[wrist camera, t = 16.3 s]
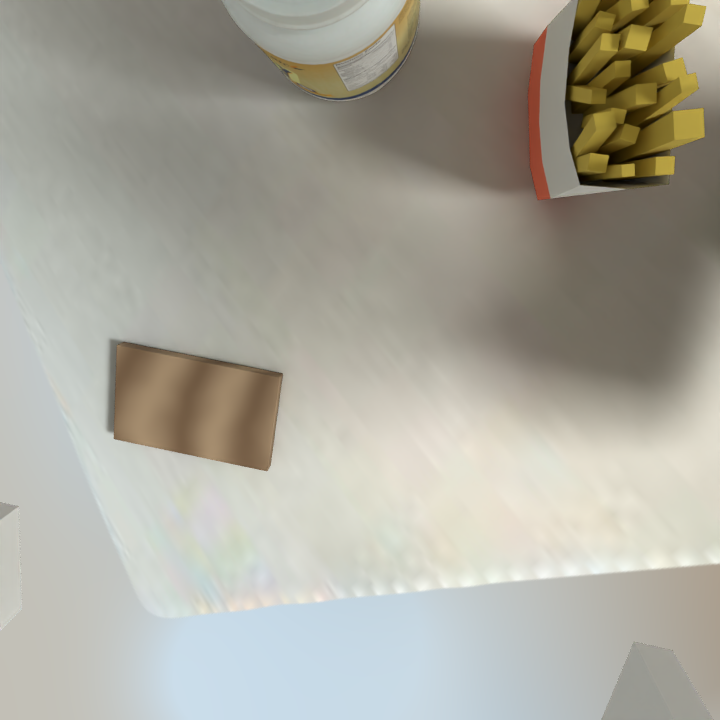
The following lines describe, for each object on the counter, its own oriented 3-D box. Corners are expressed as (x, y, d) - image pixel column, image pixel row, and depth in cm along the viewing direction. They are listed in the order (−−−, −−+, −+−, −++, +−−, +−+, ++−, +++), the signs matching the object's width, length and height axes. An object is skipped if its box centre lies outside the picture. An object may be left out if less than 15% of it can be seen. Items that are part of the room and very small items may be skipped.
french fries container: (526, 201, 42) (601, 192, 25) (521, 56, 39) (603, -68, 22) (583, 194, 42) (702, 180, 24) (583, 46, 39) (717, -89, 21)
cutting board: (282, 373, 49) (279, 377, 48) (270, 465, 52) (267, 471, 50) (123, 341, 49) (116, 345, 48) (120, 434, 52) (113, 438, 51)
